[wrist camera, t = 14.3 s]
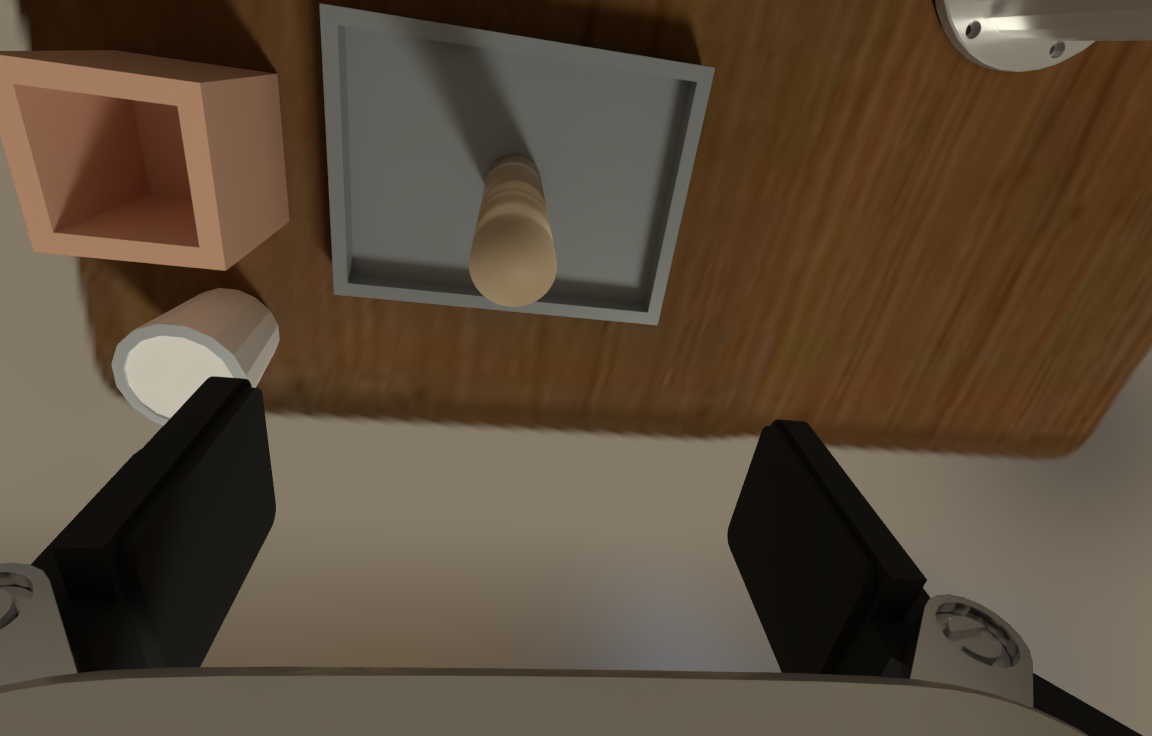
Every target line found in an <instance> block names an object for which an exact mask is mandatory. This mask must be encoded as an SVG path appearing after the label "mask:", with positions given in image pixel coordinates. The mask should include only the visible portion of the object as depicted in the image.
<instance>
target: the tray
mask: <svg viewBox="0 0 1152 736" xmlns="http://www.w3.org/2000/svg"><path fill="white" fill-rule="evenodd" d="M319 6H320V26H321V45H322V65H323V85H324V105H325V125H326V145H327V165H328V185H329V205H330V224H331V244H332V264H333V284H334V295H345V296H356V297H366V298H377V299H387V300H398V301H408V302H419V303H429V304H440V305H450V306H461V307H471V308H482V309H492V310H503V311H513V312H524V313H534V314H545V315H555V316H566V317H576V318H587V319H597V320H608V321H619V322H629V323H640V324H650V325H658V321H659V316H660V312H661V307H662V303H663V299H664V294H665V290H666V285H667V281H668V276H669V272H670V267H671V263H672V258H673V254H674V249H675V245H676V241H677V236H678V232H679V227H680V223H681V218H682V214H683V209H684V205H685V200H686V196H687V191H688V187H689V183H690V178H691V174H692V169H693V165H694V160H695V156H696V151H697V147H698V142H699V138H700V133H701V129H702V125H703V120H704V116H705V111H706V107H707V102H708V98H709V93H710V89H711V84H712V80H713V76H714V71H715V68H713V67H707V66H701V65H695V64H689V63H682V62H676V61H670V60H664V59H658V58H652V57H646V56H640V55H633V54H627V53H621V52H615V51H609V50H603V49H597V48H591V47H584V46H578V45H572V44H566V43H560V42H554V41H548V40H542V39H535V38H529V37H523V36H517V35H511V34H505V33H499V32H493V31H486V30H480V29H474V28H468V27H462V26H456V25H450V24H444V23H437V22H431V21H425V20H419V19H413V18H407V17H401V16H394V15H388V14H382V13H376V12H370V11H364V10H358V9H352V8H345V7H339V6H333V5H327V4H321V3H319ZM509 154H517V155H522V156H524V157H526V158H528V159H529V160H531V161H532V162H533V163H534V164H535V166H536V167H537V169H538V170H539V173H540V176H541V181H542V186H543V191H544V197H545V202H546V207H547V212H548V217H549V223H550V228H551V233H552V238H553V244H554V249H555V254H556V260H557V272H556V276H555V279H554V282H553V284H552V286H551V288H550V289H549V290H548V292H547V293H546V294H545V295H544V296H543V297H541V298H540V299H539V300H537V301H535V302H533V303H531V304H528V305H525V306H520V307H508V306H502V305H499V304H496V303H494V302H492V301H490V300H489V299H487V298H486V297H485V296H483V295H482V294H481V293H480V292H479V290H478V289H477V288H476V286H475V285H474V283H473V281H472V278H471V275H470V271H469V257H470V252H471V247H472V243H473V238H474V233H475V229H476V224H477V220H478V215H479V210H480V206H481V201H482V197H483V192H484V187H485V183H486V178H487V174H488V171H489V169H490V167H491V165H492V164H493V163H494V162H495V161H496V160H497V159H499V158H500V157H502V156H505V155H509Z"/></svg>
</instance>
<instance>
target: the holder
mask: <svg viewBox="0 0 1152 736" xmlns="http://www.w3.org/2000/svg"><path fill="white" fill-rule="evenodd" d="M0 135H1V139H2V143H3V146H4V149H5V152H6V156H7V160H8V163H9V167H10V170H11V173H12V177H13V181H14V184H15V187H16V191H17V194H18V198H19V201H20V205H21V208H22V211H23V215H24V219H25V222H26V225H27V229H28V232H29V236H30V239H31V243H32V246H33V250H34V252H40V253H50V254H60V255H70V256H80V257H90V258H100V259H111V260H121V261H131V262H141V263H151V264H162V265H172V266H182V267H192V268H202V269H213V270H223V271H226V270H227V269H229V268H230V267H231V266H233V265H234V264H235V263H236V262H238V261H239V260H240V259H242V258H243V257H244V256H245V255H247V254H248V253H249V252H251V251H252V250H253V249H254V248H256V247H257V246H258V245H259V244H261V243H262V242H263V241H265V240H266V239H267V238H268V237H270V236H271V235H272V234H274V233H275V232H276V231H277V230H279V229H280V228H281V227H283V226H284V225H285V224H286V223H288V222H289V209H288V196H287V184H286V172H285V160H284V148H283V136H282V123H281V111H280V99H279V87H278V75H277V74H276V73H269V72H262V71H255V70H248V69H241V68H234V67H227V66H220V65H214V64H207V63H200V62H193V61H186V60H179V59H172V58H165V57H158V56H152V55H145V54H138V53H131V52H124V51H117V50H70V51H0Z"/></svg>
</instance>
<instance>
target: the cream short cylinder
mask: <svg viewBox="0 0 1152 736" xmlns="http://www.w3.org/2000/svg"><path fill="white" fill-rule="evenodd" d="M278 343H279V329H278V324H277V322H276V320H275V319H274V317H273V315H272V313H271V311H270V310H269V309H268V308H267V307H266V306H265V305H263V304H262V303H261V302H260V301H259V300H258V299H257V298H255V297H253V296H251V295H249V294H246V293H244V292H242V291H240V290H235V289H225V288H217V289H213V290H210V291H206V292H203V293H201V294H199V295H197V296H195V297H193V298H192V299H190V300H188V301H186V302H184V303H183V304H181V305H179V306H177V307H175V308H173V309H172V310H170V311H168V312H166V313H164V314H163V315H161V316H159V317H157V318H155V319H153V320H152V321H150V322H148V323H146V324H144V325H142V326H141V327H139V328H137V329H135V330H133V331H132V332H131V333H130V334H129V335H128V336H127V337H126V338H124V339H123V340H122V341H121V342H120V343H119V344H118V345H117V348H116V351H115V355H114V358H113V361H112V369H113V373H114V377H115V381H116V386H117V387H118V389H119V390H120V391H121V393H122V394H123V396H124V397H125V398H126V400H127V401H128V402H129V404H130V405H131V406H132V407H133V408H135V409H136V410H137V411H139V412H140V413H142V414H143V415H144V416H146V417H147V418H148V419H150V420H151V421H153V422H155V423H158V424H161V425H163V426H164V425H165V424H166V423H167V421H168V420H169V419H170V418H171V417H172V416H173V415H174V414H175V413H176V412H177V411H178V410H179V409H180V407H181V406H182V405H183V404H184V403H185V402H186V401H187V400H188V399H189V398H190V397H191V396H192V395H193V393H194V392H195V391H196V390H197V389H198V388H199V387H200V386H201V385H202V384H203V383H204V382H205V381H206V379H208V378H209V377H211V376H217V377H230V378H243V379H248V380H249V381H250V383H251V385H252V387H253V388H256V386H257V384H258V382H259V380H260V379H261V377H262V375H263V373H264V371H265V369H266V367H267V366H268V364H269V362H270V360H271V358H272V356H273V354H274V352H275V350H276V348H277V345H278Z"/></svg>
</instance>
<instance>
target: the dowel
mask: <svg viewBox="0 0 1152 736" xmlns="http://www.w3.org/2000/svg"><path fill="white" fill-rule="evenodd" d="M469 271H470V275H471V278H472V281H473V283H474V285H475V286H476V288H477V289H478V290H479V292H480V293H481V294H482V295H483V296H485V297H486V298H487V299H489V300H490V301H492V302H494V303H496V304H499V305H502V306H508V307H520V306H525V305H528V304H531V303H533V302H535V301H537V300H539V299H540V298H541V297H543V296H544V295H545V294H546V293H547V292H548V290H549V289H550V288H551V286H552V284H553V282H554V279H555V276H556V272H557V260H556V254H555V249H554V244H553V238H552V233H551V228H550V223H549V217H548V212H547V207H546V202H545V197H544V191H543V186H542V181H541V176H540V173H539V170H538V169H537V167H536V166H535V164H534V163H533V162H532V161H531V160H529V159H528V158H526V157H524V156H522V155H517V154H509V155H505V156H502V157H500V158H499V159H497V160H496V161H495V162H494V163H493V164H492V165H491V167H490V169H489V171H488V174H487V178H486V183H485V187H484V192H483V197H482V201H481V206H480V210H479V215H478V220H477V224H476V229H475V233H474V238H473V243H472V247H471V252H470V257H469Z"/></svg>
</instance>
